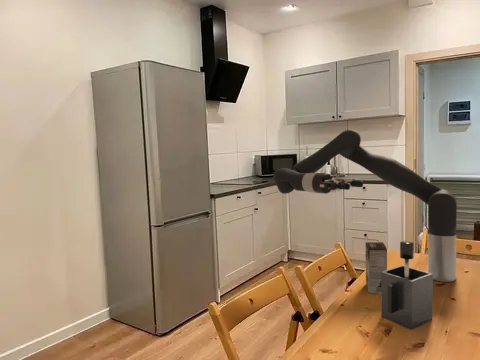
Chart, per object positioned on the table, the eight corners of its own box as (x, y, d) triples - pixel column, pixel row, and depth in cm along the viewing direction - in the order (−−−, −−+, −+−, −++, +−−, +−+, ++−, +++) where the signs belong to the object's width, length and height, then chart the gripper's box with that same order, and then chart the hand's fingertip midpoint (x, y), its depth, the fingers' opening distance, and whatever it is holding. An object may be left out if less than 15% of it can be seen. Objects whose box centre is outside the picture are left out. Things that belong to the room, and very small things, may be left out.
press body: (401, 308, 119) (401, 265, 117) (432, 320, 110) (432, 273, 109) (374, 319, 112) (374, 274, 110) (405, 333, 103) (405, 284, 102)
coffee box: (365, 283, 140) (364, 241, 139) (383, 284, 139) (383, 241, 137) (368, 293, 131) (368, 248, 130) (387, 294, 130) (387, 248, 128)
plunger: (402, 304, 117) (402, 237, 115) (427, 313, 110) (428, 243, 108) (385, 311, 113) (385, 242, 111) (410, 321, 106) (411, 248, 104)
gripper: (305, 174, 136) (344, 176, 124) (328, 171, 145) (366, 172, 133) (305, 195, 137) (344, 198, 125) (328, 190, 146) (366, 193, 134)
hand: (356, 185), depth 129 cm, fingers open, 8 cm apart
